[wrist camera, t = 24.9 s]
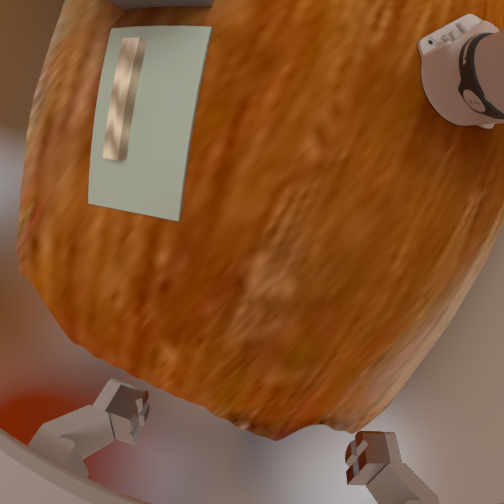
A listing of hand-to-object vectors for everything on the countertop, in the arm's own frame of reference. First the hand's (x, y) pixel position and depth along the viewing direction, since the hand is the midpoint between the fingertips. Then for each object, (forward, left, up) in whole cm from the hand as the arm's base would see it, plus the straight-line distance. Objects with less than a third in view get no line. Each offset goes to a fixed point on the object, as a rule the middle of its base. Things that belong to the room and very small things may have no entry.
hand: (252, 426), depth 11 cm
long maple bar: (+3, -28, -39) cm, 48 cm away
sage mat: (+5, -26, -41) cm, 49 cm away
